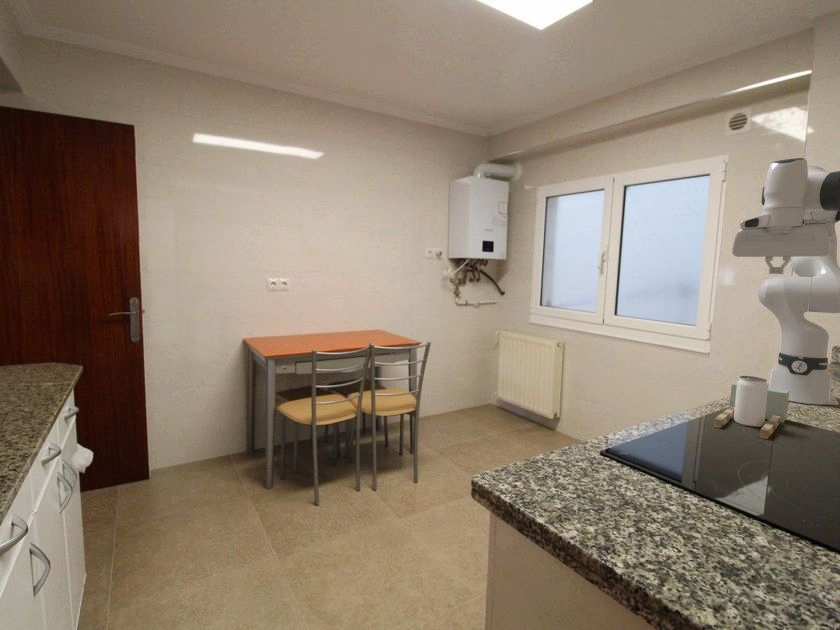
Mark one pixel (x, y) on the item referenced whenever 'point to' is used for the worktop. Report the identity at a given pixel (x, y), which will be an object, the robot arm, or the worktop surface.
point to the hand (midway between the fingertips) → (776, 273)
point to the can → (751, 401)
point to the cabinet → (770, 402)
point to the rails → (764, 431)
